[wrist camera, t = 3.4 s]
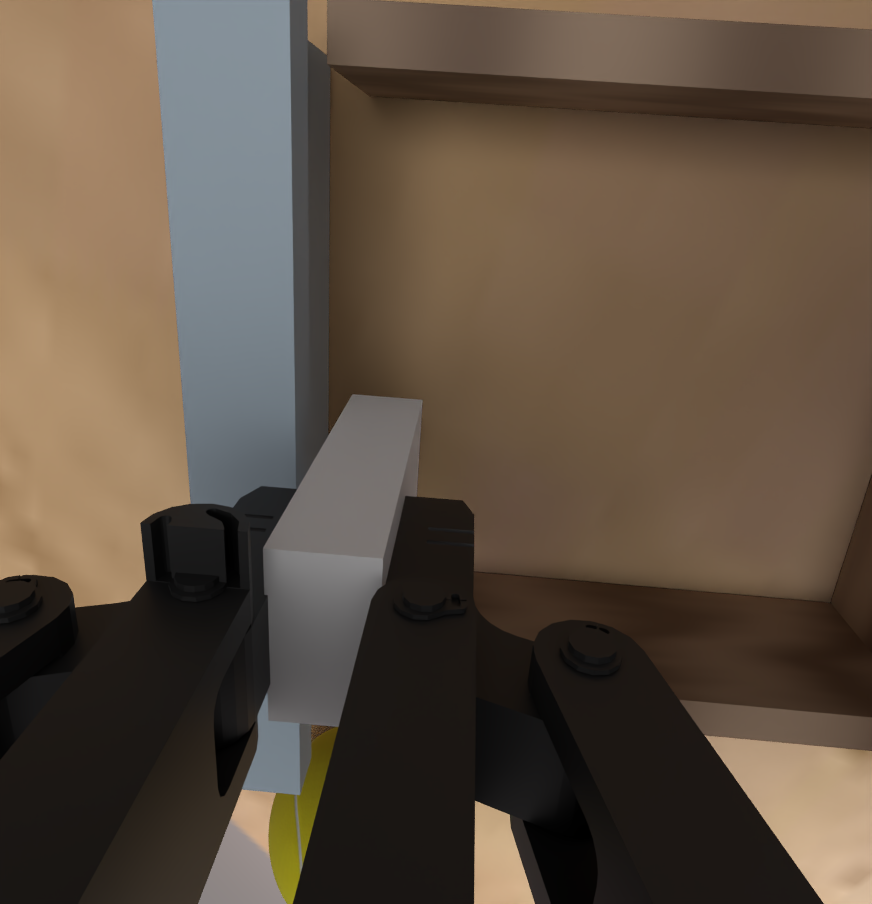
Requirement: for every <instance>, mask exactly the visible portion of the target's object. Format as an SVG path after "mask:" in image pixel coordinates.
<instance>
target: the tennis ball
mask: <svg viewBox="0 0 872 904" xmlns="http://www.w3.org/2000/svg"><path fill="white" fill-rule="evenodd" d="M337 730H338V727H334V728H332V729H330V730H328V731H326V732H324V733H323V734H321V735H320V736H318V737H316V738H315V739H313V740H312V741H311V760H310V764H309V767H308V770H307V774H306V777H305V781H304V784H303V787H302V791H301V794H300V795H294V794H284V793H276V796H275V799H274V802H273V806H272V810H271V816H270V822H269V853H270V860H271V865H272V869H273V873H274V876H275V880H276V882H277V885H278V888H279V890H280V892H281V894H282V896H283V898H284V899H285V901H286V903H287V904H293V901H294V897H295V893H296V889H297V885H298V881H299V878H300V874H301V870H302V866H303V862H304V858H305V854H306V850H307V847H308V843H309V839H310V835H311V831H312V827H313V823H314V819H315V816H316V812H317V808H318V804H319V800H320V796H321V792H322V788H323V785H324V781H325V777H326V773H327V769H328V765H329V761H330V758H331V754H332V750H333V746H334V742H335V738H336V734H337Z"/></svg>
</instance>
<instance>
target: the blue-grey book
mask: <svg viewBox="0 0 872 904" xmlns="http://www.w3.org/2000/svg"><path fill="white" fill-rule="evenodd" d="M152 2H153V15H154V28H155V41H156V54H157V67H158V80H159V94H160V107H161V120H162V133H163V146H164V159H165V172H166V185H167V198H168V211H169V225H170V238H171V251H172V264H173V277H174V290H175V303H176V316H177V329H178V342H179V356H180V369H181V382H182V395H183V408H184V421H185V434H186V447H187V460H188V473H189V487H190V500H191V504H218V505H223V506H229V507H232V508H233V507H234V505H235V504H236V503H237V501H238V500H239V499H240V498H241V497H243V496H244V495H246V494H248V493H250V492H252V491H253V490H255V489H257V488H259V487H261V486H267V487H279V488H291V489H298V487H299V485H300V484H301V482H302V480H303V478H304V477H305V475H306V473H307V472H308V470H309V468H310V466H311V465H312V463H313V461H314V459H315V458H316V456H317V454H318V453H319V451H320V449H321V447H322V446H323V444H324V442H325V441H326V439H327V437H328V410H329V224H330V66H329V65H327V55H326V54H324V53H323V52H322V51H321V50H319V49H318V48H317V47H316V46H314V45H313V44H312V43H311V42H309V41H308V31H307V0H152ZM310 760H311V724H300V723H290V722H279V721H268V692H267V694H266V696H265V698H264V701H263V703H262V706H261V708H260V711H259V713H258V743H257V751H256V753H255V756H254V759H253V761H252V764H251V766H250V769H249V772H248V774H247V777H246V779H245V782H244V785H243V787H242V789H243V790H253V791H264V792H274V793H284V794H294V795H300V794H301V791H302V787H303V784H304V781H305V777H306V774H307V770H308V767H309V764H310Z"/></svg>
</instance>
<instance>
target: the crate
mask: <svg viewBox="0 0 872 904" xmlns="http://www.w3.org/2000/svg"><path fill="white" fill-rule="evenodd" d="M327 65H329V66H330V67H331V68H333V69H334V70H335V71H337V72H338V73H339V74H341V75H342V76H343V77H345V78H346V79H348V80H349V81H350V82H352V83H353V84H354V85H356V86H357V87H358V88H360V89H361V90H362V91H364V92H365V93H366V94H368V95H369V96H375V97H391V98H406V99H422V100H438V101H453V102H469V103H485V104H500V105H516V106H532V107H547V108H563V109H579V110H594V111H610V112H625V113H641V114H657V115H672V116H688V117H704V118H719V119H735V120H751V121H766V122H782V123H797V124H813V125H829V126H844V127H860V128H872V30H869V29H853V28H836V27H819V26H802V25H785V24H768V23H751V22H734V21H717V20H700V19H684V18H667V17H650V16H633V15H616V14H599V13H582V12H565V11H548V10H532V9H515V8H498V7H481V6H464V5H447V4H430V3H413V2H396V1H380V0H327ZM473 597H474V602H475V606H476V608H477V609H478V611H479V612H480V614H481V615H482V616H483V617H484V618H485V619H486V620H487V621H488V622H490V623H491V624H493V625H494V626H496V627H498V628H499V629H501V630H503V631H505V632H508V633H510V634H513V635H516V636H518V637H522V638H525V639H528V640H531V641H535V639H536V637H537V635H538V633H539V631H541V630H542V629H544V628H545V627H547V626H549V625H550V624H552V623H556V622H561V621H566V620H583V621H593V622H597V623H600V624H604V625H607V626H610V627H613V628H615V629H616V630H618V631H620V632H622V633H624V634H626V635H627V636H629V637H631V638H632V639H633V640H634V641H635V642H636V643H637V644H638V645H639V646H640V647H641V648H642V649H643V650H644V651H645V652H646V654H647V655H648V657H649V658H650V660H651V661H652V662H653V664H654V665H655V667H656V668H657V669H658V671H659V672H660V674H661V675H662V676H663V678H664V679H665V681H666V682H667V683H668V685H669V686H670V688H671V689H672V691H673V692H674V693H675V695H676V696H677V698H678V699H679V700H680V702H681V703H682V705H683V706H684V707H685V709H686V710H687V712H688V713H689V715H690V716H691V717H692V719H693V720H694V722H695V723H696V724H697V726H698V727H699V729H700V730H701V731H702V733H703V734H704V735H708V736H718V737H729V738H740V739H750V740H761V741H772V742H782V743H793V744H804V745H814V746H825V747H836V748H846V749H857V750H868V751H872V477H871V480H870V483H869V486H868V489H867V492H866V495H865V499H864V502H863V505H862V508H861V511H860V514H859V517H858V520H857V523H856V526H855V529H854V532H853V536H852V539H851V542H850V545H849V548H848V551H847V554H846V557H845V560H844V563H843V566H842V570H841V573H840V576H839V579H838V582H837V585H836V588H835V591H834V594H833V597H832V600H831V603H825V602H813V601H802V600H790V599H779V598H767V597H756V596H744V595H733V594H721V593H710V592H698V591H687V590H675V589H664V588H652V587H641V586H629V585H618V584H606V583H595V582H583V581H572V580H560V579H549V578H537V577H526V576H514V575H503V574H491V573H479V572H474V590H473Z"/></svg>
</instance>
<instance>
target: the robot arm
mask: <svg viewBox="0 0 872 904" xmlns="http://www.w3.org/2000/svg"><path fill="white" fill-rule="evenodd" d="M422 403H423V400H419V399H406V398H393V397H381V396H368V395H356V394H352V396H351V397H350V399H349V401H348V403H347V404H346V406H345V408H344V410H343V411H342V413H341V415H340V416H339V418H338V420H337V422H336V423H335V425H334V427H333V428H332V430H331V432H330V434H329V435H328V437H327V439H326V441H325V442H324V444H323V446H322V447H321V449H320V451H319V453H318V454H317V456H316V458H315V459H314V461H313V463H312V465H311V466H310V468H309V470H308V472H307V473H306V475H305V477H304V478H303V480H302V482H301V484H300V485H299V487H298V489H291V488H279V487H267V486H261V487H259V488H257V489H255V490H253V491H252V492H250V493H248V494H246V495H244V496H243V497H241V498H240V499H239V500H238V501H237V503H236V504H235V505H234V507H233V508H232V507H229V506H223V505H218V504H188V505H182V506H176V507H171V508H168V509H166V510H163V511H160V512H157V513H155V514H153V515H151V516H150V517H148V518H147V519H145V520H144V521H142V522H141V523H140V524H141V533H142V542H143V552H144V561H145V571H146V580H147V581H146V582H145V583H144V585H143V586H142V587H141V588H140V590H139V591H138V592H137V593H136V594H135V596H134V597H133V598H132V599H131V601H127V602H121V603H114V604H105V605H95V606H85V607H76V608H75V604H74V597H73V593H72V591H71V589H70V587H69V586H68V584H67V583H65V582H63V581H61V580H59V579H57V578H54V577H47V576H38V575H23V576H20V575H19V576H12V577H7V578H4V579H2V580H0V904H198V902H199V900H200V897H201V894H202V892H203V889H204V886H205V884H206V881H207V879H208V876H209V873H210V871H211V868H212V866H213V863H214V860H215V858H216V855H217V853H218V850H219V847H220V845H221V842H222V839H223V837H224V834H225V831H226V829H227V826H228V824H229V821H230V819H231V816H232V813H233V811H234V808H235V806H236V803H237V800H238V798H239V795H240V792H241V790H242V787H243V785H244V782H245V779H246V777H247V774H248V772H249V769H250V766H251V764H252V761H253V759H254V756H255V753H256V751H257V743H258V713H259V711H260V708H261V706H262V703H263V701H264V698H265V696H266V694H267V692H268V721H279V722H290V723H300V724H311V725H322V726H333V727H338V730H337V734H336V738H335V742H334V746H333V750H332V754H331V758H330V761H329V765H328V769H327V773H326V777H325V781H324V785H323V788H322V792H321V796H320V800H319V804H318V808H317V812H316V816H315V819H314V823H313V827H312V831H311V835H310V839H309V843H308V847H307V850H306V854H305V858H304V862H303V866H302V870H301V874H300V878H299V881H298V885H297V889H296V893H295V897H294V901H293V904H474V844H475V801H477V802H480V803H482V804H485V805H487V806H490V807H492V808H495V809H497V810H500V811H502V812H505V813H507V814H510V822H511V829H512V832H513V836H514V839H515V842H516V845H517V848H518V851H519V854H520V858H521V861H522V864H523V867H524V870H525V873H526V876H527V879H528V883H529V886H530V889H531V892H532V895H533V898H534V901H535V904H824V903H823V902H822V901H821V899H820V898H819V896H818V895H817V894H816V892H815V891H814V889H813V888H812V886H811V885H810V884H809V882H808V881H807V879H806V878H805V877H804V875H803V874H802V872H801V871H800V870H799V868H798V867H797V865H796V864H795V863H794V861H793V860H792V858H791V857H790V855H789V854H788V853H787V851H786V850H785V848H784V847H783V846H782V844H781V843H780V841H779V840H778V839H777V837H776V836H775V834H774V833H773V831H772V830H771V829H770V827H769V826H768V824H767V823H766V822H765V820H764V819H763V817H762V816H761V815H760V813H759V812H758V810H757V809H756V808H755V806H754V805H753V803H752V802H751V800H750V799H749V798H748V796H747V795H746V793H745V792H744V791H743V789H742V788H741V786H740V785H739V784H738V782H737V781H736V779H735V778H734V777H733V775H732V774H731V772H730V771H729V769H728V768H727V767H726V765H725V764H724V762H723V761H722V760H721V758H720V757H719V755H718V754H717V753H716V751H715V750H714V748H713V747H712V746H711V744H710V743H709V741H708V740H707V738H706V737H705V736H704V734H703V733H702V731H701V730H700V729H699V727H698V726H697V724H696V723H695V722H694V720H693V719H692V717H691V716H690V715H689V713H688V712H687V710H686V709H685V707H684V706H683V705H682V703H681V702H680V700H679V699H678V698H677V696H676V695H675V693H674V692H673V691H672V689H671V688H670V686H669V685H668V683H667V682H666V681H665V679H664V678H663V676H662V675H661V674H660V672H659V671H658V669H657V668H656V667H655V665H654V664H653V662H652V661H651V660H650V658H649V657H648V655H647V654H646V652H645V651H644V650H643V649H642V648H641V647H640V646H639V645H638V644H637V643H636V642H635V641H634V640H633V639H632V638H631V637H629V636H627V635H626V634H624V633H622V632H620V631H618V630H616V629H615V628H613V627H610V626H607V625H604V624H600V623H597V622H593V621H583V620H566V621H561V622H556V623H552V624H550V625H549V626H547V627H545V628H544V629H542V630H541V631H539V633H538V635H537V637H536V639H535V641H531V640H528V639H525V638H522V637H518V636H516V635H513V634H510V633H508V632H505V631H503V630H501V629H499V628H498V627H496V626H494V625H493V624H491V623H490V622H488V621H487V620H486V619H485V618H484V617H483V616H482V615H481V614H480V612H479V611H478V609H477V608H476V606H475V602H474V597H473V590H474V514H473V513H472V512H471V510H470V509H469V508H468V507H467V506H466V504H465V503H464V502H463V501H461V500H449V499H437V498H425V497H417V486H418V469H419V453H420V436H421V420H422Z"/></svg>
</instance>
